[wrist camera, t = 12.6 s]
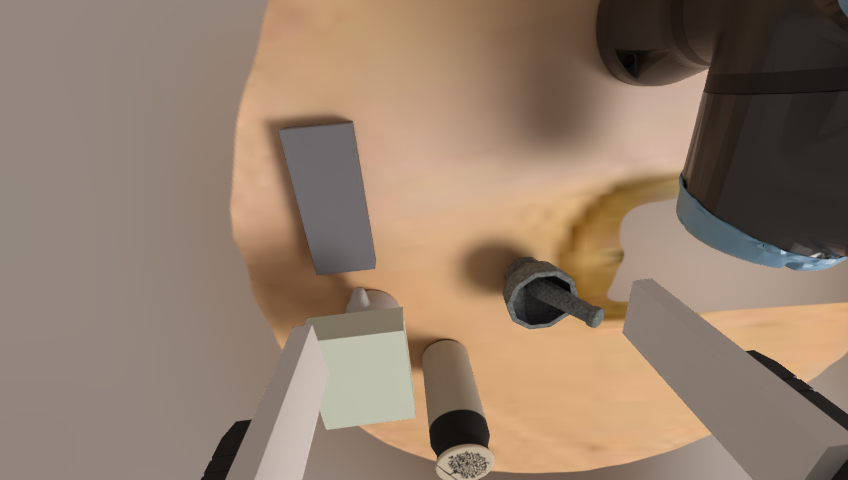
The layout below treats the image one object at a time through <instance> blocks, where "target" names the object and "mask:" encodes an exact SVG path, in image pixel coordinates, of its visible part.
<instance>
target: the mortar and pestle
mask: <svg viewBox="0 0 848 480" xmlns="http://www.w3.org/2000/svg"><path fill="white" fill-rule="evenodd" d="M505 279H506V285H505V287H504V290H503V296H504V300H505V303H506V306H507V309H508V311H509V314H510V316H511V318H512V320H513V322H515V323H517V324H519V325H521V326H524V327H526V328H528V329H536V328H545V327H551V326H552V325H554V324H555V323H557V322H559V321H560V320H562V319H563V318H565V317H566V316H568V315H569V314H570V315H572V316H574V317H576V318H579V319H581V320H583V321H585V322H586V324H587V325H588V326H590V327H592V328H596V327H597V326H598V325H600V323H601V322H602V320H603V317H604V309H602V308H600V307H598V306H592V305H590V304H589V303H587V302H585V301H583V300H582V299H580V298H578V296H577V291H576V287H575V282H574V280H573V279H572V278H571V277H570V276H569V275H568V274H567V273H565V272H564V271H562V270H561V269H559V268H557V267H556V266H554V265H552V264H550V263H549V262H545V261H537V260H536V259H534V258H532V257H531V258H521V259H518V260H517V261H516V262H514V263H513V264H511V265H510V266H509V267H508V270H507V272H506V275H505Z"/></svg>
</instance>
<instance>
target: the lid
mask: <svg viewBox="0 0 848 480" xmlns="http://www.w3.org/2000/svg"><path fill="white" fill-rule="evenodd" d="M311 324H312V326H313V328H314V331H315V334H316V337H317V340H318V343H319V346H320V348H321V351H322V354H323V357H324V360H325V363H326V366H327V368H328V371H329V375H328V379H327V383H326V387H325V391H324V395H323V399H322V403H321V406H320V413H321V416H322V419H323V422H324V425H325V428H326V430H328V429H336V428H343V427H350V426H358V425H366V424H374V423H381V422H389V421H396V420H404V419H411V418H416V414H415V399H414V387H413V380H412V372H411V365H410V357H409V350H408V343H407V335H406V328H405V320H404V313H403V307H398V308H389V309H381V310H372V311H363V312H355V313H346V314H338V315H329V316H321V317H312V318H307V319H306V322H305V324H304V325H311Z"/></svg>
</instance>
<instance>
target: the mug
mask: <svg viewBox="0 0 848 480" xmlns="http://www.w3.org/2000/svg"><path fill="white" fill-rule="evenodd" d="M398 307H399V305H398V303H397V301H396V300H395V299H394V298H393V297H392V296H391V295H389V294H387V293H385V292H382V291H377V290H369V291H365V290H364V289H363V288H361V287H358V288H356V289H354V290H353V292H352V294H351V298H350V301H349V303H348V305H347V307H346V311H345V314H346V313H355V312H363V311H372V310H381V309H389V308H398Z"/></svg>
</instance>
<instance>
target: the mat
mask: <svg viewBox="0 0 848 480" xmlns="http://www.w3.org/2000/svg"><path fill="white" fill-rule="evenodd" d="M278 132H279V136H280V140H281V143H282V147H283V151H284V155H285V158H286V162H287V166H288V170H289V173H290V177H291V181H292V185H293V188H294V192H295V196H296V200H297V203H298V207H299V211H300V215H301V218H302V222H303V226H304V230H305V233H306V237H307V241H308V245H309V248H310V252H311V256H312V260H313V263H314V267H315V271H316V275H324V274H333V273H342V272H351V271H360V270H369V269H375V264H376V257H375V251H374V245H373V239H372V233H371V227H370V221H369V215H368V209H367V203H366V197H365V191H364V185H363V179H362V173H361V167H360V161H359V155H358V149H357V143H356V137H355V131H354V125H353V121H352V122H341V123H330V124H319V125H309V126H298V127H287V128H283V129H280V130H278Z"/></svg>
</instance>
